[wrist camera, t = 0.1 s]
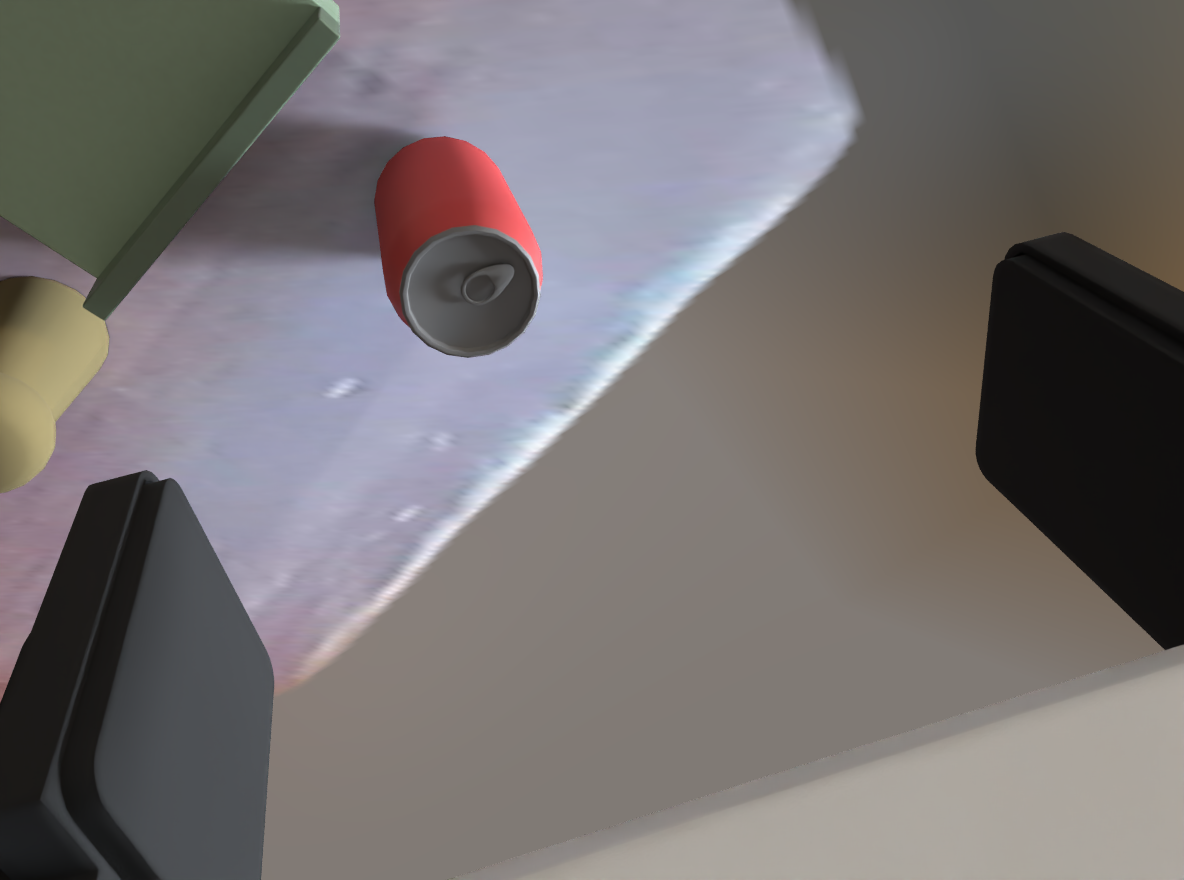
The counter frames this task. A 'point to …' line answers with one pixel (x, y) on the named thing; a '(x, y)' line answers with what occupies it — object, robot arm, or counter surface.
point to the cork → (41, 369)
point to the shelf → (138, 116)
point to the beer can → (456, 248)
